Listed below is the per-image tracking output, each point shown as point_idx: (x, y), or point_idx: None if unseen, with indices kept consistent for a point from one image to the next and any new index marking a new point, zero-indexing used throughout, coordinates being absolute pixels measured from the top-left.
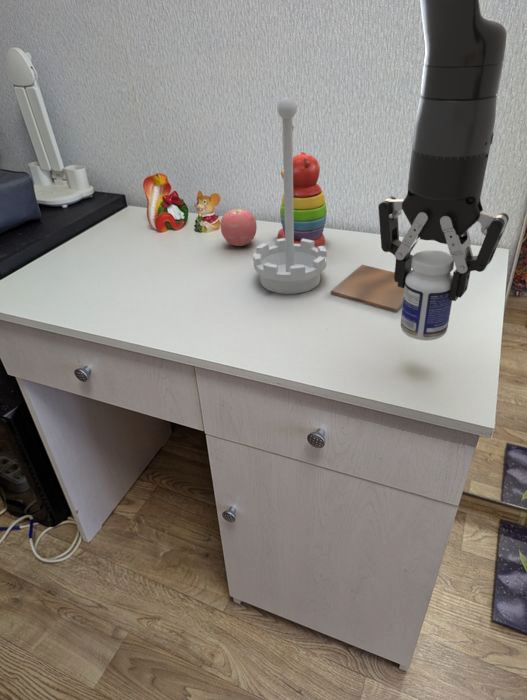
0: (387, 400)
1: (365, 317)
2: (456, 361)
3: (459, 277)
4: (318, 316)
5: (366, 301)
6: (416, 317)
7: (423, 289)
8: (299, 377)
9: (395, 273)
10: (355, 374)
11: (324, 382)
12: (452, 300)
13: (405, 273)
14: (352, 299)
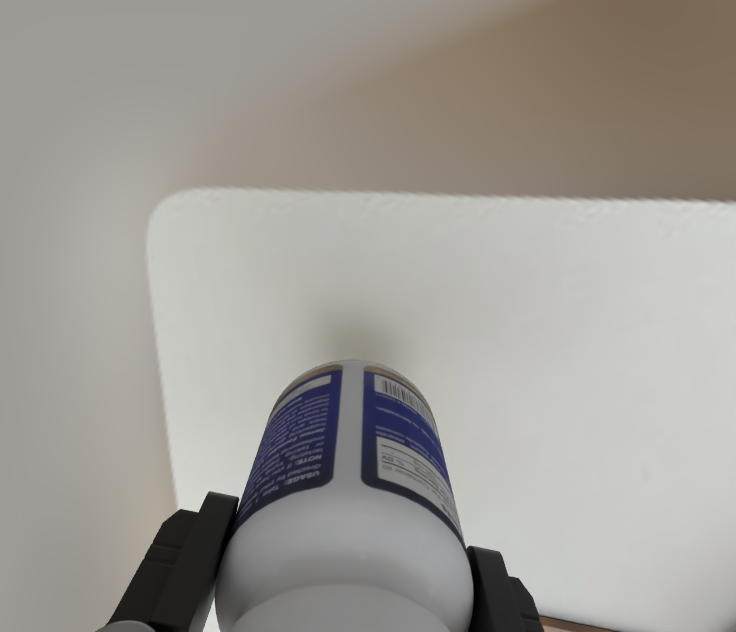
0: (417, 200)
1: (537, 556)
2: (262, 430)
3: (161, 603)
4: (680, 527)
5: (547, 624)
6: (377, 407)
7: (362, 497)
8: (699, 220)
9: (535, 621)
10: (527, 289)
11: (616, 222)
12: (222, 494)
13: (482, 621)
14: (588, 627)
